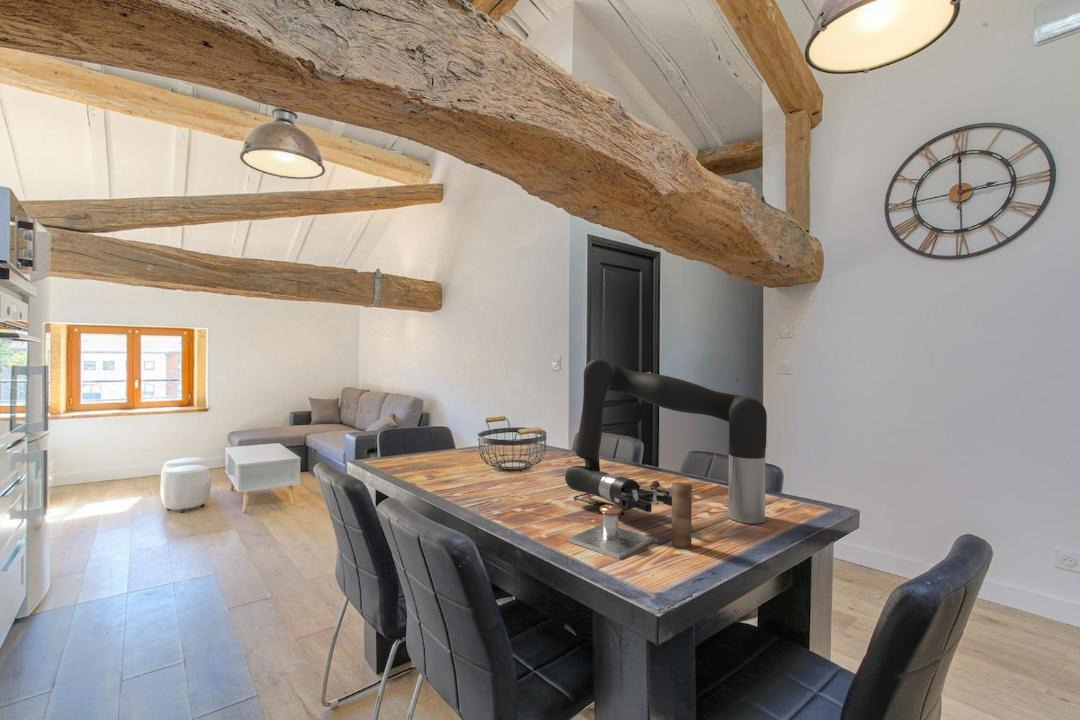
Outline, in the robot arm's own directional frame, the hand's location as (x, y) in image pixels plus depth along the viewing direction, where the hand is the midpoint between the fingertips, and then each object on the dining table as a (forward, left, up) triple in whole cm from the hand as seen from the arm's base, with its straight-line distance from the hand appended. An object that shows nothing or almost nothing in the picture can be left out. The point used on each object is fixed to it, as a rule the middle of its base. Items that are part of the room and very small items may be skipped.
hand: (663, 505), depth 117 cm
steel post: (+12, -7, -8) cm, 16 cm away
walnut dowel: (+2, +6, -8) cm, 10 cm away
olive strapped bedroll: (-34, -23, -8) cm, 42 cm away
